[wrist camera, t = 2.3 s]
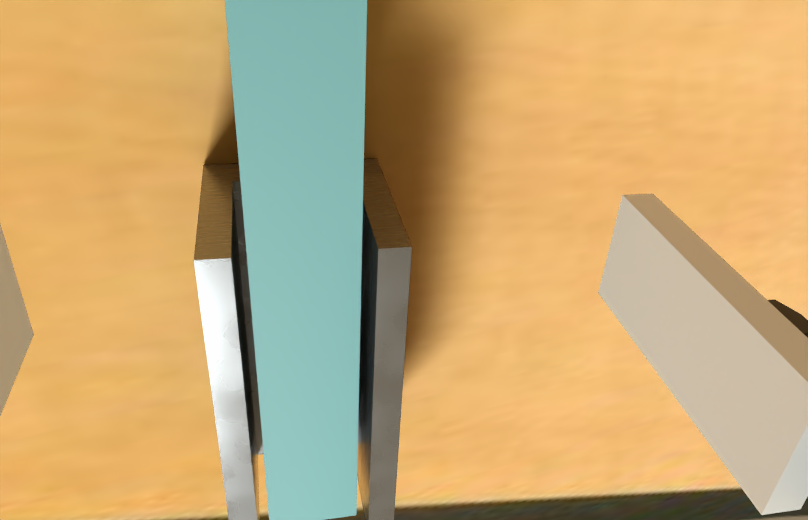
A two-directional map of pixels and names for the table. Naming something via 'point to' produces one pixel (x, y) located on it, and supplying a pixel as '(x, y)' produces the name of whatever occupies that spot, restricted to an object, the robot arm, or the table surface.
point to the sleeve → (235, 352)
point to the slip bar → (303, 238)
